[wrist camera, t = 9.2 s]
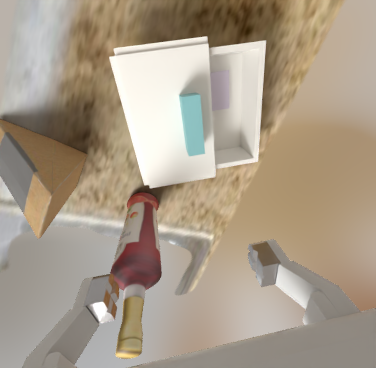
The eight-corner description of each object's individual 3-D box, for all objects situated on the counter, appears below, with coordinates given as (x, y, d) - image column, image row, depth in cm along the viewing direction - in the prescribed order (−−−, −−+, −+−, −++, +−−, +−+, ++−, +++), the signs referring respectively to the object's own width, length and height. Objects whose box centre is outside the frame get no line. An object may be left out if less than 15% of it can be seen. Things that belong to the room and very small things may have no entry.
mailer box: (180, 55, 32) (186, 51, 26) (245, 46, 32) (266, 40, 26) (192, 157, 41) (199, 171, 35) (242, 148, 42) (257, 161, 35)
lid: (110, 51, 26) (99, 45, 21) (203, 39, 27) (214, 30, 21) (146, 182, 36) (144, 200, 31) (211, 171, 37) (221, 186, 32)
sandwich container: (-8, 113, 32) (-119, 139, 19) (88, 152, 37) (52, 194, 25) (-14, 157, 35) (-112, 205, 22) (76, 187, 41) (38, 240, 28)
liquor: (135, 183, 42) (108, 330, 18) (165, 196, 45) (176, 340, 21) (121, 207, 44) (80, 366, 20) (150, 219, 47) (144, 370, 23)
